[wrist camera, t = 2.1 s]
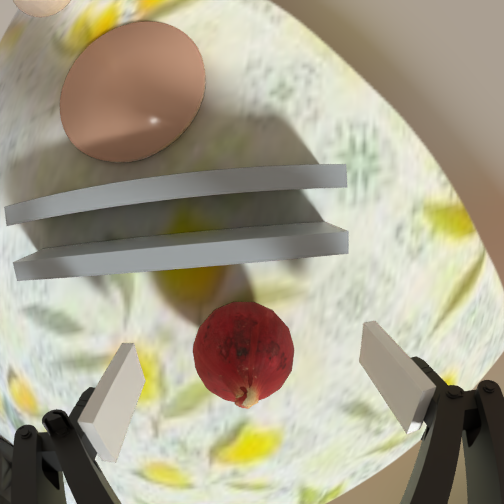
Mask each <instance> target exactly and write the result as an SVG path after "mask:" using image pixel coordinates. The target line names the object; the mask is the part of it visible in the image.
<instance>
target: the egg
mask: <svg viewBox="0 0 504 504" xmlns="http://www.w3.org/2000/svg"><path fill="white" fill-rule="evenodd" d="M13 2H14V3H15V4H16V6H17V7H18V8H19V9H20V10H21V11H22V12H24V13H25V14H28V15H30V16H33V17H47V16H51V15H54V14H56V13H58V12H60V11H61V10H63V9H64V8H65V7H66V6H67V5H68V3H69V2H70V0H13Z"/></svg>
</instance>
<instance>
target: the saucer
mask: <svg viewBox="0 0 504 504" xmlns="http://www.w3.org/2000/svg"><path fill="white" fill-rule="evenodd" d="M205 80H206V77H205V69H204V64H203V60H202V57H201V54H200V52H199V50H198V48H197V46H196V45H195V43H194V42H193V41H192V40H191V39H190V38H189V36H188V35H186V34H185V33H184V32H182V31H181V30H179V29H177V28H175V27H173V26H171V25H168V24H165V23H159V22H149V21H146V22H136V23H130V24H127V25H123V26H120V27H118V28H115V29H113V30H111V31H109V32H107V33H105V34H104V35H102V36H101V37H99V38H98V39H96V40H95V41H94V42H92V43H91V44H90V45H89V46H88V47H87V48H86V49H85V50H84V51H83V52H82V53H81V54H80V56H79V57H78V58H77V59H76V61H75V62H74V64H73V65H72V67H71V69H70V70H69V72H68V74H67V77H66V79H65V82H64V85H63V88H62V92H61V98H60V115H61V121H62V124H63V128H64V130H65V132H66V134H67V136H68V138H69V139H70V141H71V142H72V143H73V144H74V145H75V146H76V147H77V148H78V149H79V150H80V151H82V152H83V153H85V154H87V155H88V156H90V157H93V158H96V159H99V160H104V161H110V162H132V161H136V160H141V159H144V158H147V157H149V156H152V155H154V154H156V153H158V152H160V151H161V150H163V149H165V148H166V147H168V146H169V145H170V144H172V143H173V142H174V141H175V140H176V139H178V138H179V137H180V136H181V135H182V134H183V133H184V131H185V130H186V129H187V128H188V126H189V125H190V124H191V123H192V121H193V119H194V118H195V116H196V114H197V112H198V110H199V108H200V106H201V103H202V100H203V96H204V91H205Z"/></svg>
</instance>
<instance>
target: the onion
mask: <svg viewBox="0 0 504 504" xmlns="http://www.w3.org/2000/svg"><path fill="white" fill-rule="evenodd" d="M193 355H194V362H195V368H196V370H197V373H198V375H199V377H200V378H201V380H202V381H203V383H204V385H205V386H206V388H207V389H208V390H209V391H211V392H212V393H214V394H216V395H217V396H219V397H221V398H222V399H224V400H227V401H232V402H235V404H236V405H237V406H239V407H242V408H247V409H248V408H250V407H251V406H252V405H254V404H256V403H258V400H261V399H264V398H267V397H268V396H270V395H271V394H273V393H274V392H276V391H277V390H279V389H280V388H281V387H282V385H283V384H284V382H285V381H286V379H287V378H288V376H289V374H290V372H291V371H292V365H293V357H294V346H293V341H292V338H291V335H290V331H289V328H288V327H287V326H286V325H285V323H284V322H283V321H282V320H281V319H280V318H279V317H278V316H277V315H276V314H275V313H274V311H273V310H271V309H269V308H266V307H264V306H262V305H260V304H258V303H256V302H232V303H229V304H227V305H225V306H222V307H220V308H217V309H215V310H214V311H213V312H212V313H211V314H210V316H209V317H208V318H207V319H206V320H205V321H204V322H203V324H202V325H201V326H200V327H199V329H198V332H197V335H196V338H195V341H194V345H193Z"/></svg>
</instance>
